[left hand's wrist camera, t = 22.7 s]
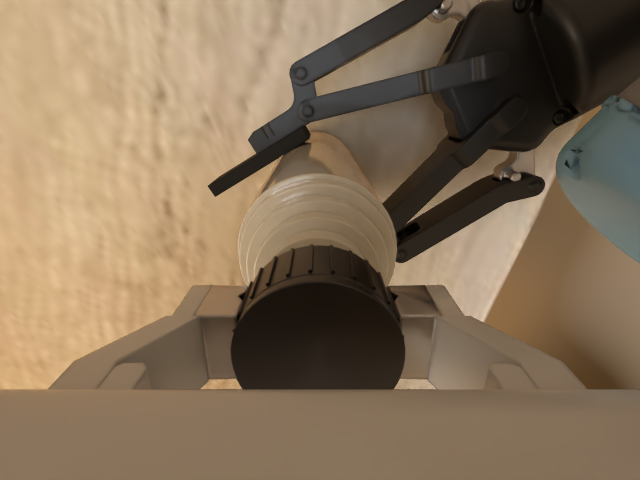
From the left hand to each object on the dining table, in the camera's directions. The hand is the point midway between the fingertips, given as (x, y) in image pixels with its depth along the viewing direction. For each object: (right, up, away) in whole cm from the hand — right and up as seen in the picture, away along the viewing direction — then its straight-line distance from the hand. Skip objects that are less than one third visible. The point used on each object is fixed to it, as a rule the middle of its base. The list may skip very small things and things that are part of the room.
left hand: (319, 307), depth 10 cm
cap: (0, -1, -2) cm, 2 cm away
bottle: (0, +7, +19) cm, 20 cm away
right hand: (-5, +3, +14) cm, 15 cm away
